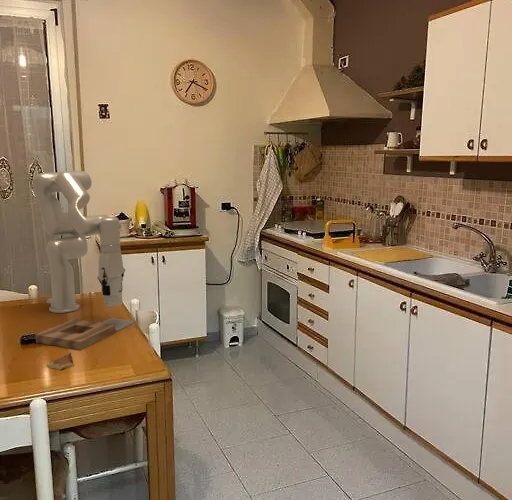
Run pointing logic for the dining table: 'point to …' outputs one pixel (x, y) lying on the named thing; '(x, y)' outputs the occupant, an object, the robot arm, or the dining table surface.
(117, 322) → the grey mat
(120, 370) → the dining table surface
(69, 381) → the dining table surface
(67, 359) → the shard
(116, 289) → the skincare box
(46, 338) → the walnut holder
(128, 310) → the dining table surface
